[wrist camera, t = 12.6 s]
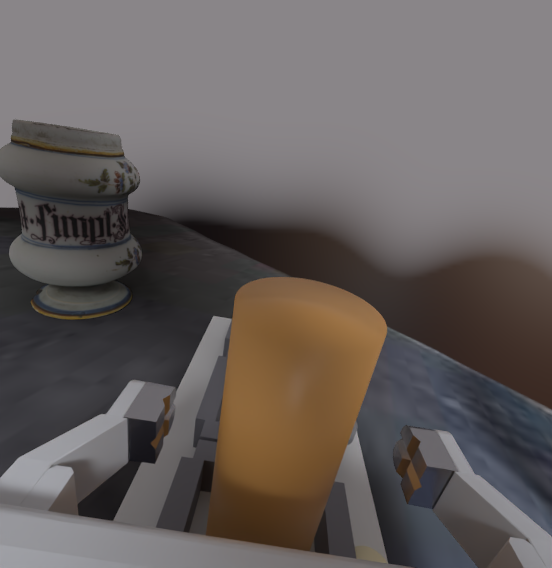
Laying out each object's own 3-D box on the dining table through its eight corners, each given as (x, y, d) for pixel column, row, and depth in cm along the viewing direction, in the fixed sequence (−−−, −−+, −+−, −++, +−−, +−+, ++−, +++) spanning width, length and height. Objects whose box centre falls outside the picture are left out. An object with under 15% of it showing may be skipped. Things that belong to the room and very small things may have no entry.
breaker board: (426, 774, 11) (466, 739, 10) (26, 717, 11) (10, 673, 9) (332, 344, 36) (339, 318, 34) (212, 323, 35) (215, 296, 34)
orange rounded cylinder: (185, 553, 15) (207, 286, 9) (260, 502, 17) (312, 271, 12) (231, 671, 12) (305, 375, 6) (314, 587, 14) (417, 329, 9)
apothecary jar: (27, 278, 38) (3, 113, 31) (136, 275, 43) (135, 136, 37) (6, 332, 28) (-37, 110, 21) (148, 319, 34) (150, 142, 27)
